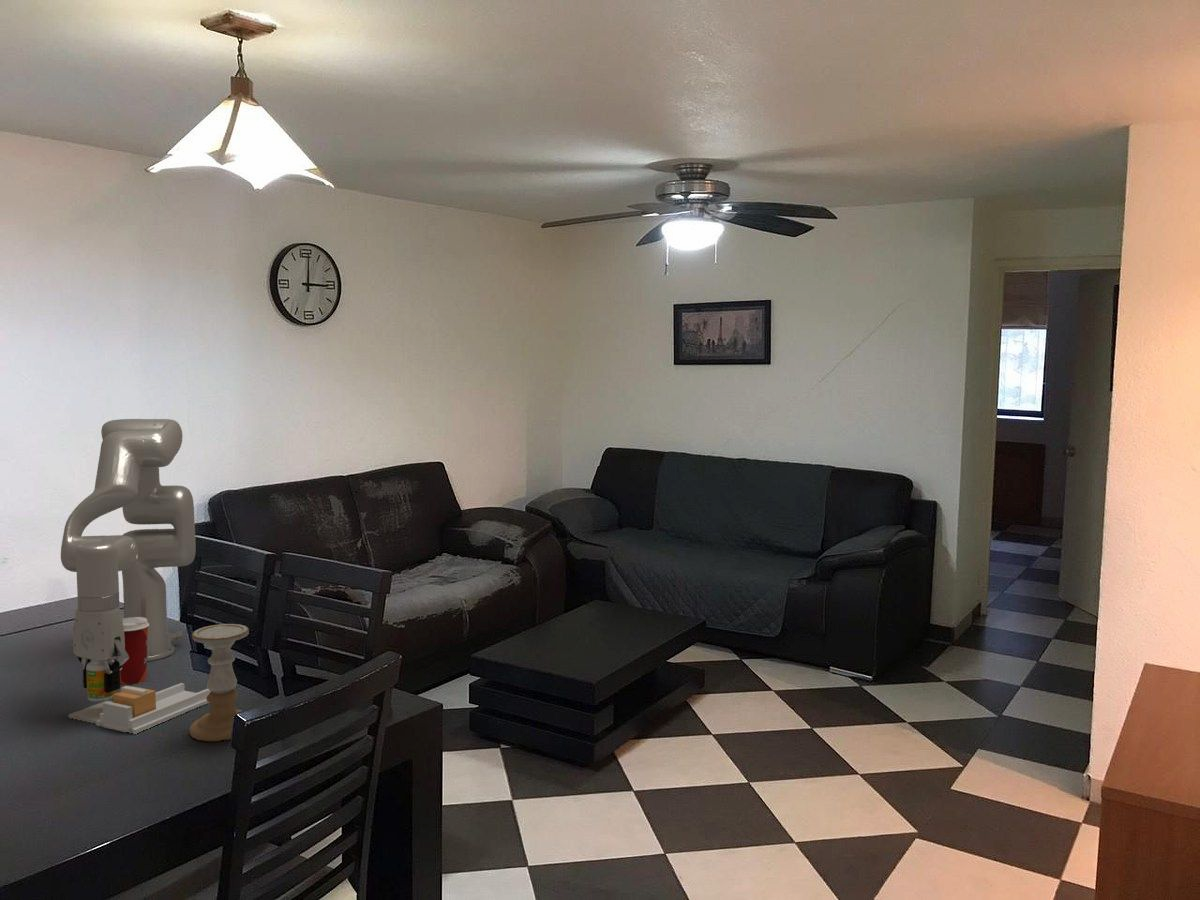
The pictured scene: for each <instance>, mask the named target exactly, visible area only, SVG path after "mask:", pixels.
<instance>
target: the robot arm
mask: <svg viewBox="0 0 1200 900" xmlns="http://www.w3.org/2000/svg"><path fill="white" fill-rule="evenodd" d="M100 433H101V438H102V439H101V440H102V441H101V444H100V451H99V456H98V457H99V459H98V462H97V463H98V464H97V468H96V469H97V471H96V476H95V483H94V488H93V489H94V490H93V492H92V493H90V494H89V495H88V496H86V497H85V498H84V499H83V500H82V501H80V503H79V504H78V505H77V506H76V507H75V508H74V509H73V510H72V512H71V513H70V515H69V516H68V517H67V520H66V521H65V525H64V529H63V533H62V534H63V535H62V540H61V546H60V561H61V564H62V567H63V568H64V569H65V570H66V571H69V572H73V573H76V593H77V595H76V596H77V609H76V610H75V613H74V619H73V634H72V637H73V639H72V650H73V654H74V655H75V656H76V657H77V659H78V661H79V663H80V669H82V678H83V682H82V683H83V688H84V689H87V676H86V666H87V664H88V663H89V662H91V660H97V661H104V665H105V669H106V672H107V673H105V674H104V687H105V692H106V693H109V692H112V691H115V690H119V689H121V684H120V670H121V669H122V666H123V665H124V663H125V662H126V661H127V660H128V659H129V655H128V654H127V652H126V650H125V637H124V627H123V621H122V619H124V618H131V617H143V618H146V619H147V621H148V623H149V626H148V640H147V662H149V661H150V662H151V661H156V660H160V659H161V660H162V659H163V658H166V657H170V656H171V655H173V654H174V653H175V646H174V645H173V644H172V643H173V642H174V641H176V640H179V639H182V638H183V637H184V633H183V631H182V630H178V631H175V632H173V633H171V631H168V619H167V618H168V613H167V612H168V611H167V610H168V609H167V608H168V607H167V586H166V582H165V580H164V577H162V575H161V574H160V573H159V571H158V570H156V569H158V568H169V567H170V568H174V567H185V566H188V565H190V564H192V563H193V562H194V560H195V557H196V551H197V550H196V548H197V547H196V546H197V545H196V525H195V521H196V520H195V506H194V505H195V504H194V498H193V494H192V492H191V490H190V489H189V488H188V487H186V486H183V485H162V484H161V481H160V468H165V467H167V466H169V465H170V464H171V463H172V462H173V460H174V459H175V457H176V456H177V454H178V452H180V448H181V447H182V443H183V430H182V427H181V425H180V423H179V422H178V421H176V420H174V419H171V418H170V419H169V418H121V419H112V420H108V421H107V422H105V423H104V424H103V425H101V432H100ZM120 508H122V515H123V518H124V520H125V521H126V522H127V523H128V524H132V525H138V526H139V525H171V526H172V527H173V528H145V529H143V528H142V529H133V530H129V531H127V532H124V533H123V534H122V535H121V534H117V535H116V534H115V535H83V532H84V531H85V529H86V528H87V527H88V526H89V525H90V524H91V523H92V522H94V521H95V520H97V519H98V518H100V517H103V516H104V515H106V514H109V513H111V512H113V511H117V510H118V509H120ZM119 572H121V576H122V577H121V578H122V589H123V590H122V593H123V595H122V597H123V616H122V611H121V609H120V608H121V607H120V587H119V586H120V583H119V582H120V580H119V579H120V578H119ZM90 659H91V660H90ZM110 660H114V663H113V664H112V665H111V663H110Z"/></svg>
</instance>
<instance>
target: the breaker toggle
mask: <svg viewBox="0 0 1200 900" xmlns="http://www.w3.org/2000/svg"><path fill="white" fill-rule="evenodd" d="M156 692H157V691H156V690H155V689H154V690H153V689H150V688H149V689H148V688H144V687H138V686H130V685H124V686H122V687H121V686H120V691H119V692H118V691H117V693H115V694H113V698H112V702H113V703H117V704H122V705H127V706H131V707H132V718H135V717H137V716H140V715H142V714H145V713H147V712H150V711H153V710H155V709H156Z"/></svg>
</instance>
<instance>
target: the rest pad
mask: <svg viewBox="0 0 1200 900" xmlns="http://www.w3.org/2000/svg"><path fill="white" fill-rule="evenodd" d="M107 701H108V702H112V701H111V700H103V701H101V702H99V703H97V704H93V705H90V706H88V707H86V708H83V709H81V710H77V711H75V712H72V713H69V714H68V715H67V718H68V717H69V719H72V718H73V720H76V719H77V720H76V721H80V720H82V721H81V722H85V721H86V722H85V723H89V722H90V723H89V724H93V723H95V724H94V725H97V724H96V721H97V720H100V714H101V713H103V703H104V702H107Z"/></svg>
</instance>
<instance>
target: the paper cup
mask: <svg viewBox="0 0 1200 900" xmlns="http://www.w3.org/2000/svg"><path fill="white" fill-rule="evenodd" d="M122 621H123V627H124V637H125V650H126V652H127V654H128V655H129V659H128V660H127V661H126V662H125V663H124V665H123V666H122V669H121V670H120V685H124V686H129V685H135V683H137V684H140V683H142V681H143V682H145V681H146V680H147V672H148V671H147V668H148V667H147V665H148V661H147V640H148V626H149V623H148V621H147V619H146V618H143V617H131V618H124V617H123V618H122ZM145 679H146V680H145ZM144 680H145V681H144ZM139 682H140V683H139ZM128 684H129V685H128Z"/></svg>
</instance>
